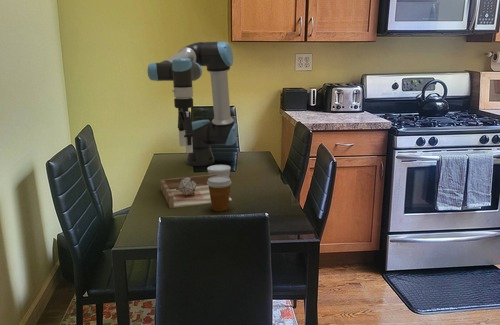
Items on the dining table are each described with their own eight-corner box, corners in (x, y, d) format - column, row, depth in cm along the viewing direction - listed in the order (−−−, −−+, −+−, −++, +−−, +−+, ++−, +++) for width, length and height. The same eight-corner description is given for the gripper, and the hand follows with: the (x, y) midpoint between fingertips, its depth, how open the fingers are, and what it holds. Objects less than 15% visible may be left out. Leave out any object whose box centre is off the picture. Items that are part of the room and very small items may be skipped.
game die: (184, 204, 192) (168, 188, 188) (190, 192, 198) (175, 176, 195) (199, 197, 187) (184, 180, 184) (205, 184, 194) (190, 167, 190)
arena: (161, 190, 201) (160, 179, 200) (216, 184, 209) (216, 174, 208) (170, 208, 179) (169, 196, 177) (232, 200, 187) (231, 189, 185)
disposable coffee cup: (203, 209, 177) (201, 180, 174) (218, 202, 184) (217, 174, 181) (222, 214, 172) (221, 184, 169) (237, 207, 179) (236, 177, 176)
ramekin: (203, 177, 221) (202, 167, 219) (221, 173, 228) (221, 163, 226) (216, 182, 212) (216, 171, 211) (235, 178, 219) (235, 167, 218)
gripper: (169, 95, 192) (172, 144, 198) (179, 101, 169) (182, 156, 175) (186, 94, 195) (189, 142, 200) (199, 100, 172) (201, 154, 177)
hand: (186, 149), depth 187 cm, fingers open, 13 cm apart
